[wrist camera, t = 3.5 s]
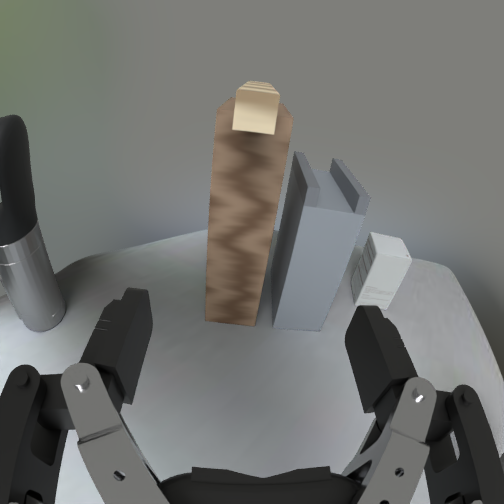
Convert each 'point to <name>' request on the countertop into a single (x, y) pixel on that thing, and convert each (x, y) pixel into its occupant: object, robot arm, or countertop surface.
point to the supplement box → (380, 270)
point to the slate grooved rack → (314, 242)
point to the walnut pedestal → (242, 214)
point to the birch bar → (256, 108)
